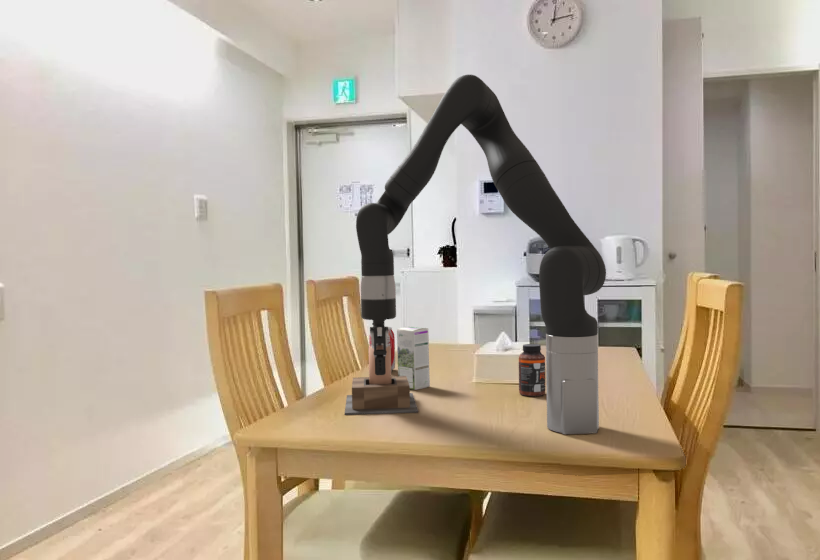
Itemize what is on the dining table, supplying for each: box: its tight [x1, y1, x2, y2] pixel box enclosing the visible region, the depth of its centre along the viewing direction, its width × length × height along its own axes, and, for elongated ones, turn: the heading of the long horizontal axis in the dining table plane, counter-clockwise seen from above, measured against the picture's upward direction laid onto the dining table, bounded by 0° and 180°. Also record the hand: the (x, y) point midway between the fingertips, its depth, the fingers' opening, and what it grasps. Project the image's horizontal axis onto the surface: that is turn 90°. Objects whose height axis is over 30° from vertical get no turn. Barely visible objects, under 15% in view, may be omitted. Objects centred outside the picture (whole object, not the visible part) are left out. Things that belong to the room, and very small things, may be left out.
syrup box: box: [396, 326, 431, 390], centre depth 169 cm, size 6×6×14 cm
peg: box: [368, 346, 392, 385], centre depth 151 cm, size 5×5×12 cm
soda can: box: [368, 326, 396, 372], centre depth 194 cm, size 7×7×12 cm
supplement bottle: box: [518, 343, 547, 397], centre depth 158 cm, size 6×6×11 cm
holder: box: [344, 375, 419, 416], centre depth 151 cm, size 18×15×5 cm
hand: (379, 371), depth 151 cm, fingers open, 8 cm apart
